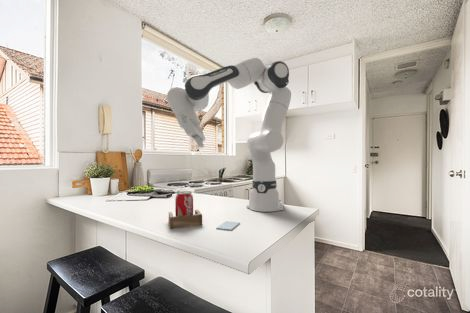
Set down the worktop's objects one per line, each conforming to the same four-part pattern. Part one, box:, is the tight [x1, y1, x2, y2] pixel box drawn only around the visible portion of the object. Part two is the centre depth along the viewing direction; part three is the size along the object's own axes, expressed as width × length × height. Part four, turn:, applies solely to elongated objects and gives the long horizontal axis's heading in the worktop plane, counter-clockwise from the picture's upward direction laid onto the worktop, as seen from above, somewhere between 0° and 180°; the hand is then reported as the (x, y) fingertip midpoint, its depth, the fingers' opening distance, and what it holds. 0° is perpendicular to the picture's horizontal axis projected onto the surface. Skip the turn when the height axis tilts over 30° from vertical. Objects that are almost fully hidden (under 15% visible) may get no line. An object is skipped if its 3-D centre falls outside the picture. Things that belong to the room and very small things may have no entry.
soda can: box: [174, 190, 194, 216], centre depth 91 cm, size 7×7×12 cm
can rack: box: [168, 208, 203, 229], centre depth 89 cm, size 9×12×4 cm
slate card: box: [216, 220, 241, 232], centre depth 85 cm, size 9×6×1 cm, turn 159°
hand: (202, 147), depth 98 cm, fingers closed
